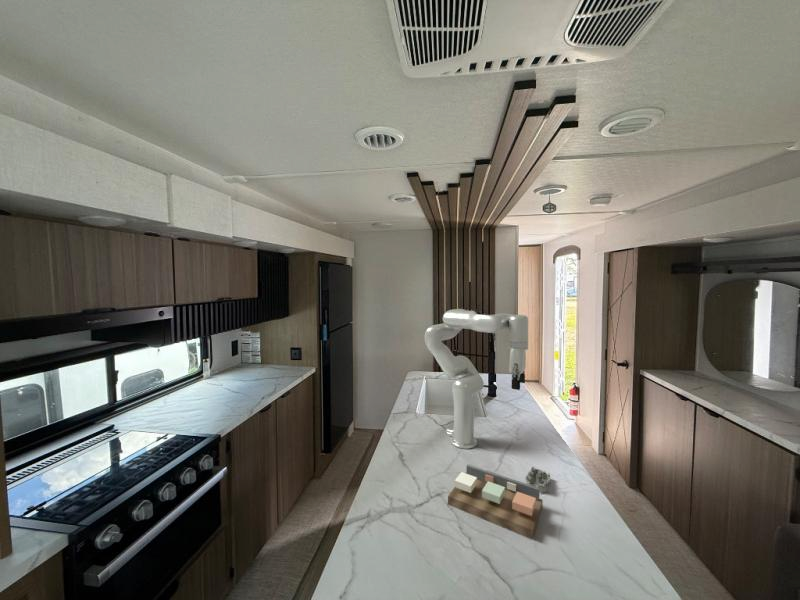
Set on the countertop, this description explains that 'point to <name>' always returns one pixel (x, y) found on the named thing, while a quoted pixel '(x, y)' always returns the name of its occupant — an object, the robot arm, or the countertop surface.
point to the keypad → (494, 511)
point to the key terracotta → (524, 503)
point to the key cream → (465, 482)
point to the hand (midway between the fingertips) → (518, 385)
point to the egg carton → (538, 479)
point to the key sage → (493, 492)
